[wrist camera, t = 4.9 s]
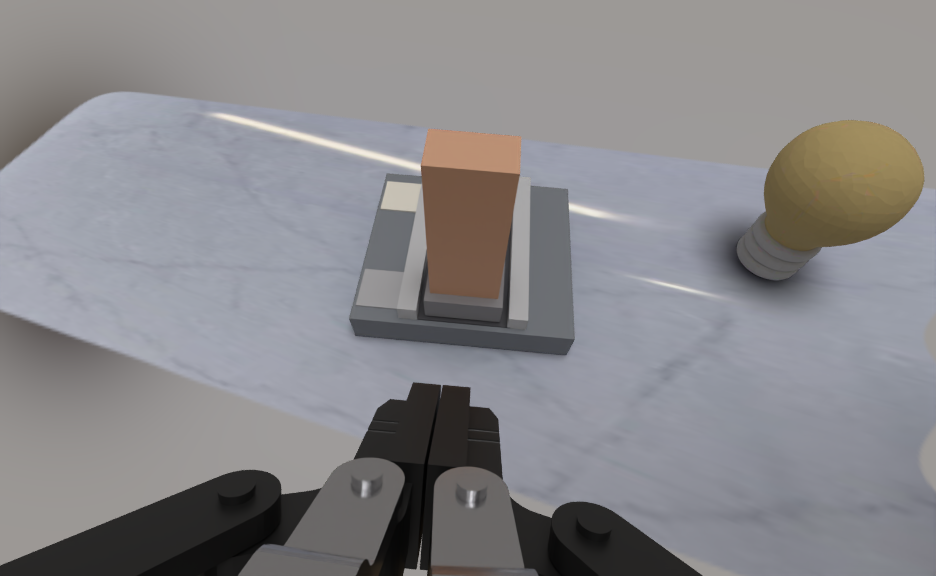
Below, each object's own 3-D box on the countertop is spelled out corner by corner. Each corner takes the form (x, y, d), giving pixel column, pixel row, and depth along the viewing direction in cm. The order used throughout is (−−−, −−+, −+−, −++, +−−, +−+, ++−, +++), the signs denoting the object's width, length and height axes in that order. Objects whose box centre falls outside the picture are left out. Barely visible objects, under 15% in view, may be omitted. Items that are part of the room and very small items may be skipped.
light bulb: (700, 222, 31) (792, 91, 23) (791, 226, 31) (916, 97, 23) (726, 301, 28) (845, 181, 19) (828, 305, 28) (991, 188, 20)
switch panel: (561, 209, 32) (571, 177, 29) (566, 354, 26) (579, 330, 23) (390, 194, 32) (385, 161, 29) (355, 335, 26) (345, 309, 23)
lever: (502, 275, 26) (528, 128, 17) (499, 322, 24) (526, 184, 16) (432, 269, 26) (423, 119, 17) (425, 315, 24) (411, 174, 16)
